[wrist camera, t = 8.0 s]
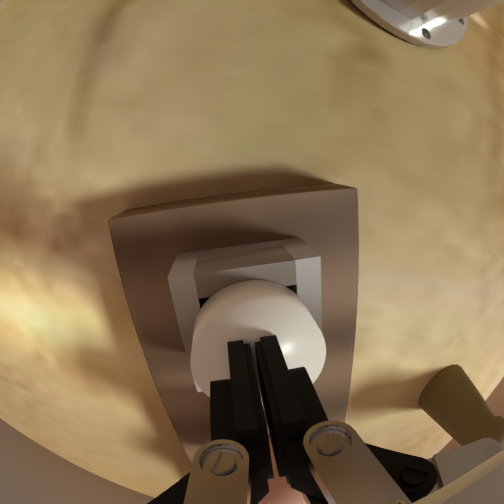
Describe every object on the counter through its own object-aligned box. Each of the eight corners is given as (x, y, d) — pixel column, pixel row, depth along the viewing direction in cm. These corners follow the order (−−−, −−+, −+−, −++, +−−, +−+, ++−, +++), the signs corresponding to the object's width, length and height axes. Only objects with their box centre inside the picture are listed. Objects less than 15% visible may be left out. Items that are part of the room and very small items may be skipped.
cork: (408, 407, 24) (460, 482, 13) (444, 360, 22) (510, 430, 12) (438, 409, 25) (485, 471, 15) (469, 367, 24) (527, 425, 13)
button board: (126, 210, 16) (81, 235, 10) (334, 183, 16) (389, 195, 11) (213, 481, 24) (215, 526, 18) (324, 463, 25) (339, 506, 19)
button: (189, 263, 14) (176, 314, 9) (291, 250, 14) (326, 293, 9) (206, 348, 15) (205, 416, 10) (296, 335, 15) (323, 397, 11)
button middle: (221, 434, 14) (226, 509, 9) (308, 420, 14) (333, 490, 9) (234, 473, 15) (241, 534, 11) (306, 461, 16) (325, 519, 11)
